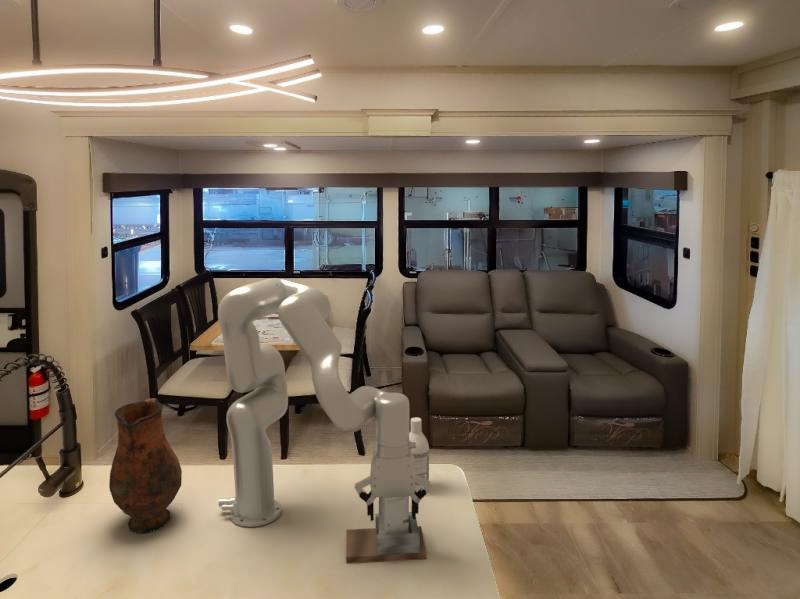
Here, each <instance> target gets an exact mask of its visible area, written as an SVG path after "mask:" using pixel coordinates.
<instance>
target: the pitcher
mask: <svg viewBox="0 0 800 599" xmlns="http://www.w3.org/2000/svg"><path fill="white" fill-rule="evenodd" d="M163 408H164V405H163V404H162V403H160V400H159V399H158V398H156V397H155V398H154V397H152V398H146V399H144V400H143V401H137V402H132V403H128V404H125V405H123V406H120V407H118V408H117V409H116V410H115V411H114V416H115V419H116V423H117V424H116V425H117V430H118V434H117V436H118V437H117V447H116V451H115V453H114V456H113V459H112V465H111V467H110V470H109V472H110V473H109V483H108V484H109V486H108V487H109V492H110V494H111V497H112V500H113V503H114V504H115V505H116V506H117V507H118V508H119V509H120V510H121V512H123V513H124V514H125V515H127V516H128V517H130V518H129V520H128V521H127V523H128V524H127V528H128V527H129V528H128V530H129V531H131V532H132V531H133V532H132V533H134V532H136V533H135V534H147V532H148V533H151V532H150V531H152V532H154V531H153V530H156V531H157V529H158V530H159V528H160V529H162V528H164V527H165V526H166V525H167V524H168V523H169V522H168V521H171V520H170V519H171V516H172V515H171V512H170V510H169V509H167V508H169V506H170V505H171V504H172V503H173V501H174V500H175V498H176V496H177V495H178V492H179V490H180V488H181V487H182V477H183V476H182V475H183V473H182V472H183V471H182V467H181V464H180V462H179V461H180V460H179V459H178V456H177V454H176V453H175V451H174V449H173V448H172V447H171V445H170V443H169V441H168V439H167V438H166V433H165V430H164V425H163ZM167 522H168V523H167ZM166 523H167V524H166ZM165 524H166V525H165ZM164 525H165V526H164ZM161 527H162V528H161Z"/></svg>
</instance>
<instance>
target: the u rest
mask: <svg viewBox="0 0 800 599" xmlns="http://www.w3.org/2000/svg"><path fill="white" fill-rule="evenodd" d="M374 515H375V516H374V519H375V521H374V522H375V527H374V528H373V527H372V528H351V529H345V532H346V534H345V536H346V537H345V563H346V564H354V563H355V564H356V563H376V562H394V561H411V560H412V561H414V560H415V561H416V560H427V549H426V545H425V539H424V534H423V529H422V526H421V525H418V521H417V520H418V519H417V518H416V519H413V518H412V512H411V511H409V533H407V534H386V535H379V512H378V513H375V514H374Z"/></svg>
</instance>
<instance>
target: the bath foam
mask: <svg viewBox="0 0 800 599" xmlns="http://www.w3.org/2000/svg"><path fill="white" fill-rule="evenodd" d="M422 423H423V422H422V418H420V417H418V416H417V417H416V416H415V417H411V418H410V431H409V440H410V442H416V448H412V449H411V451H412V454H413V460H414V469H415V475H417V476H420V477H422V478H424V479H426V480H429V481H430V446H429V442H428V441H429V440H428V439H427V438H426V436H425V434H424V433H423V430H422ZM422 486H423V485H420V484H418V483H416V482H415V490H416V491H417V492H418V491H419V490H420V489H421V488H422Z"/></svg>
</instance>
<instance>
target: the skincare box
mask: <svg viewBox="0 0 800 599" xmlns="http://www.w3.org/2000/svg"><path fill="white" fill-rule="evenodd" d="M409 503H410V496H404V497H378V513H379V535H386V534H407V533H409V512H410V506H409V505H410V504H409Z"/></svg>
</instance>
